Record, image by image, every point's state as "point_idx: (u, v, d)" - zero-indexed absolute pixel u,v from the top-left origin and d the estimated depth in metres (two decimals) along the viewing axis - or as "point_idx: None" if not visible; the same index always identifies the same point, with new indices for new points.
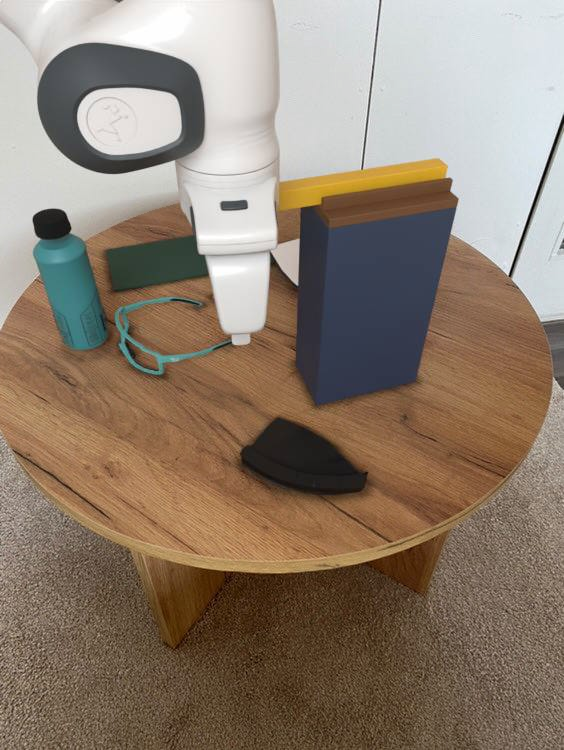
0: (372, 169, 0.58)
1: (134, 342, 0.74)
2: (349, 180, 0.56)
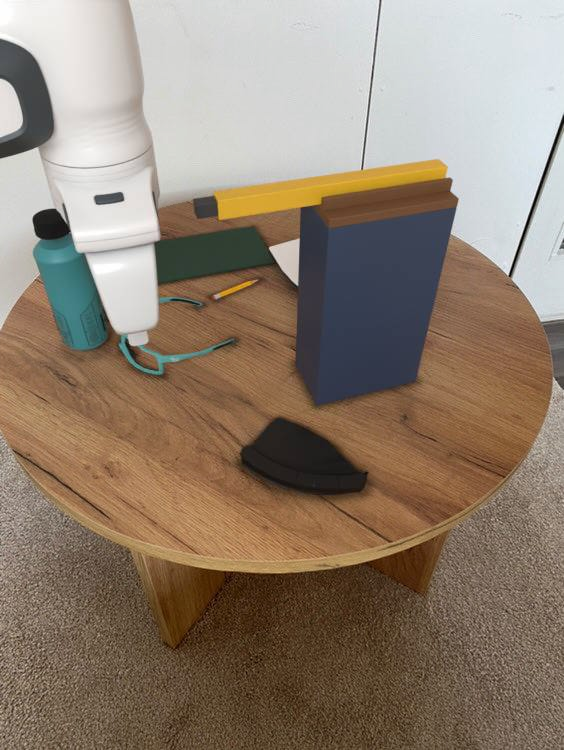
0: (372, 169, 0.58)
1: None
2: (349, 180, 0.57)
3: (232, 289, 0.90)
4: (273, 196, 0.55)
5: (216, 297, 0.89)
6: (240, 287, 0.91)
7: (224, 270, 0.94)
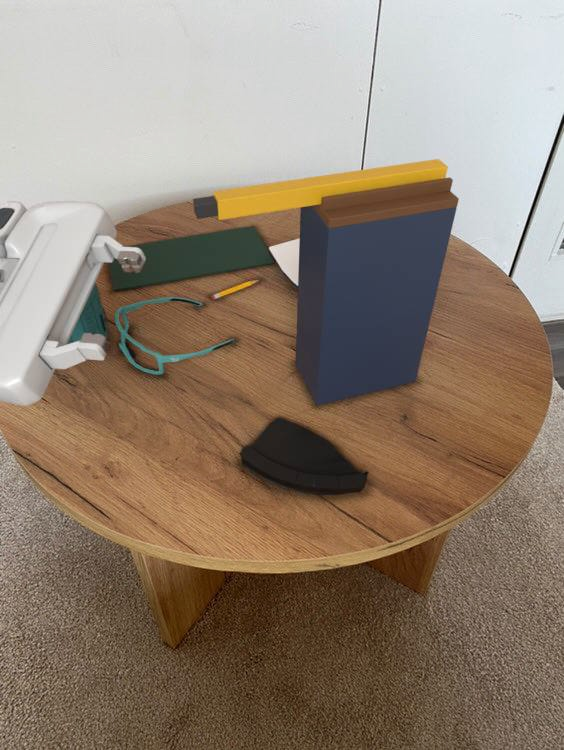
0: (372, 169, 0.58)
1: (134, 342, 0.74)
2: (349, 180, 0.57)
3: (232, 289, 0.90)
4: (273, 196, 0.55)
5: (216, 297, 0.89)
6: (240, 287, 0.91)
7: (224, 270, 0.94)
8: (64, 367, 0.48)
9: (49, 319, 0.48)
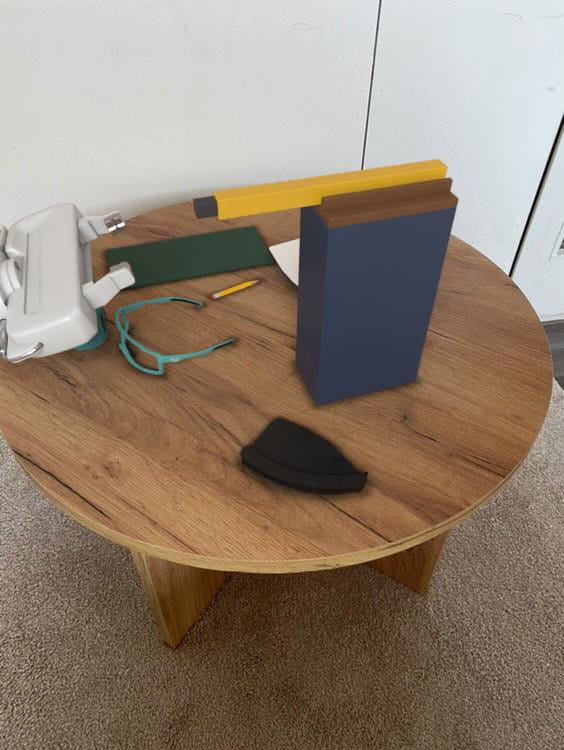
0: (372, 169, 0.58)
1: (134, 342, 0.74)
2: (349, 180, 0.57)
3: (232, 289, 0.90)
4: (273, 196, 0.55)
5: (215, 296, 0.89)
6: (240, 287, 0.91)
7: (224, 270, 0.94)
8: (104, 302, 0.55)
9: (76, 271, 0.55)
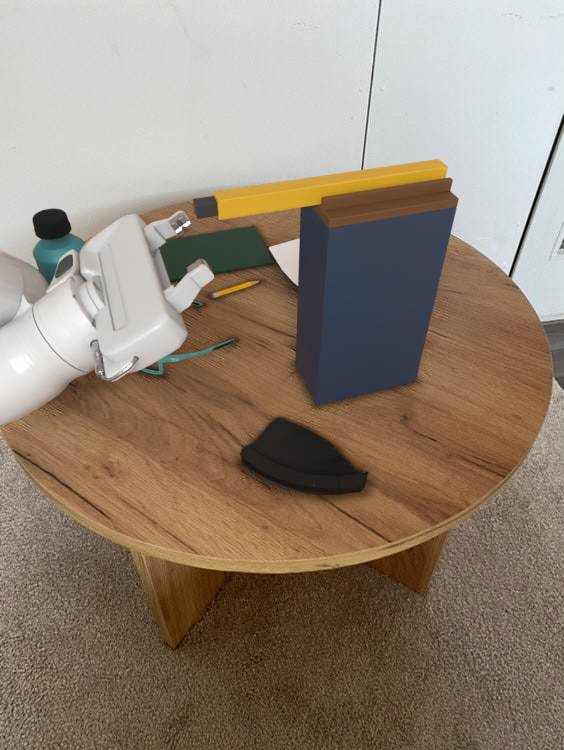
0: (372, 169, 0.58)
1: None
2: (349, 180, 0.57)
3: (232, 289, 0.90)
4: (273, 196, 0.55)
5: (215, 296, 0.89)
6: (240, 287, 0.91)
7: (224, 270, 0.94)
8: (188, 303, 0.54)
9: (154, 278, 0.54)
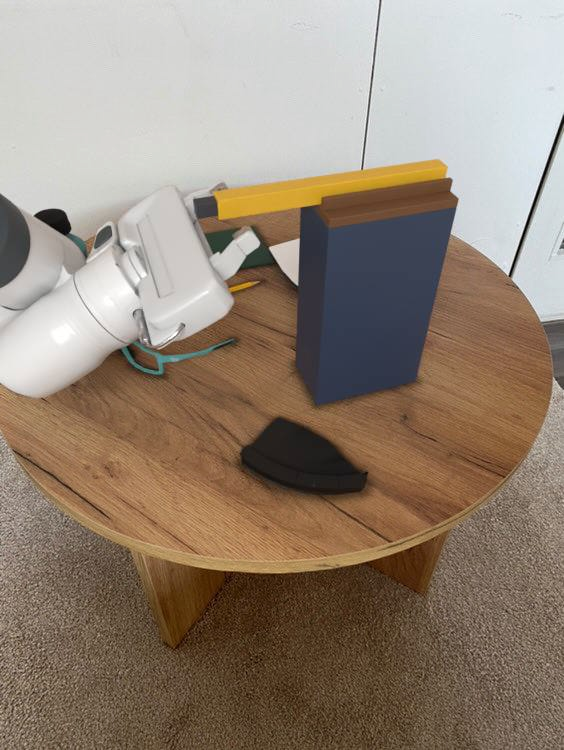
0: (372, 169, 0.58)
1: (134, 342, 0.74)
2: (349, 180, 0.57)
3: (231, 289, 0.90)
4: (273, 196, 0.55)
5: None
6: (240, 287, 0.91)
7: None
8: (234, 271, 0.53)
9: (199, 245, 0.53)
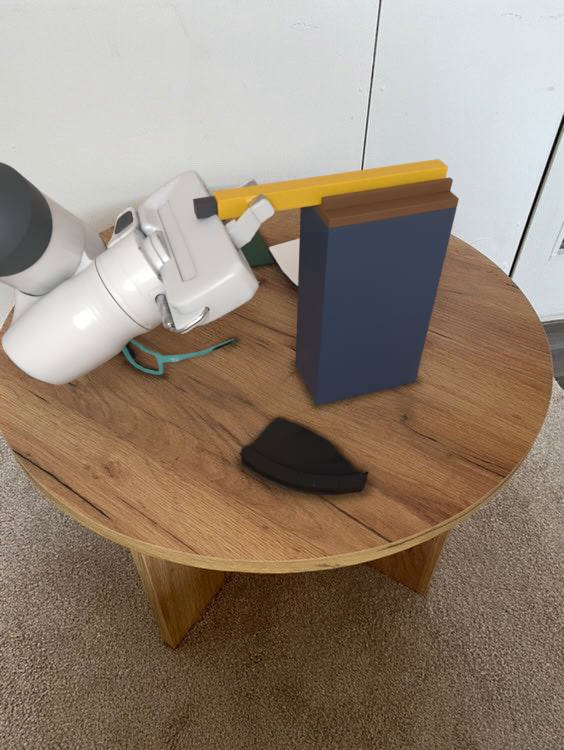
0: (372, 169, 0.58)
1: (134, 342, 0.74)
2: (349, 180, 0.56)
3: None
4: (273, 197, 0.55)
5: None
6: None
7: None
8: (249, 238, 0.54)
9: (223, 229, 0.53)
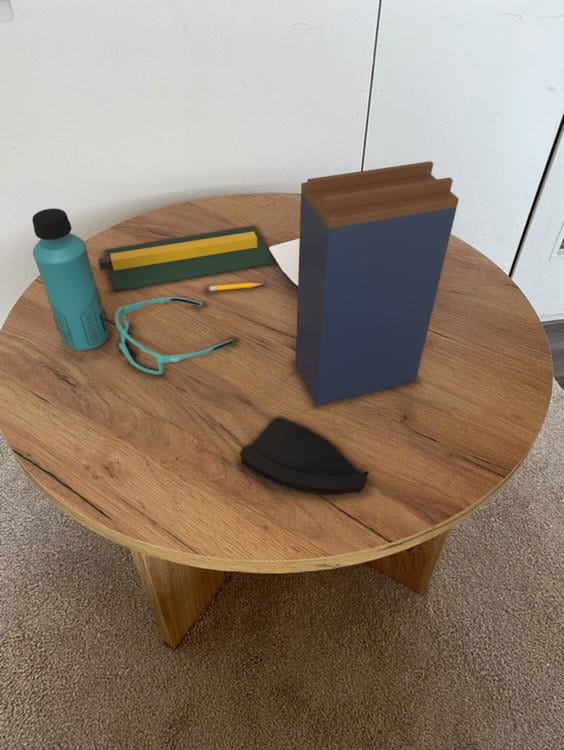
0: (210, 239, 0.97)
1: (134, 342, 0.74)
2: (193, 246, 0.95)
3: (230, 285, 0.90)
4: (145, 257, 0.94)
5: (211, 288, 0.90)
6: (239, 286, 0.91)
7: (224, 270, 0.94)
8: None
9: None
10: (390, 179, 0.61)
